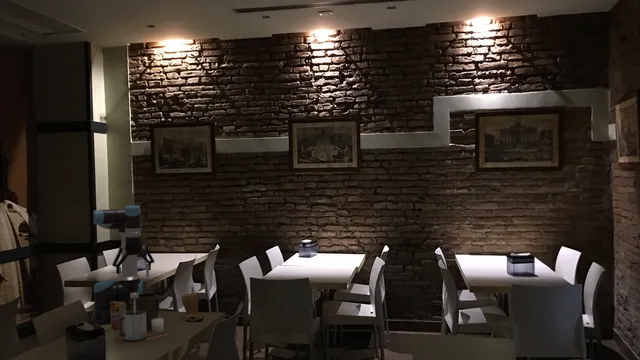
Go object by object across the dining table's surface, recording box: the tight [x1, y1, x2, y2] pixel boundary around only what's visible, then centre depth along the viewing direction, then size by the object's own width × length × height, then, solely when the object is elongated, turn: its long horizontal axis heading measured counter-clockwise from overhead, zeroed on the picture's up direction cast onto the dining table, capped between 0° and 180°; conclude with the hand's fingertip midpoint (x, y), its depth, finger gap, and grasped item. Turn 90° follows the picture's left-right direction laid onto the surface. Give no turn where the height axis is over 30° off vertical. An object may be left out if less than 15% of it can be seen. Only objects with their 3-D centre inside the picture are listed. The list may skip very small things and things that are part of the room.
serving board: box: [114, 330, 172, 346], centre depth 283 cm, size 16×24×2 cm, turn 122°
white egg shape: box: [151, 317, 165, 334], centre depth 290 cm, size 6×6×7 cm
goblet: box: [130, 292, 139, 315], centre depth 280 cm, size 8×8×20 cm
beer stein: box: [136, 293, 160, 332], centre depth 301 cm, size 15×11×20 cm
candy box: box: [110, 301, 128, 331], centre depth 302 cm, size 9×4×15 cm, turn 57°
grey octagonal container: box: [118, 309, 148, 343], centre depth 279 cm, size 11×13×13 cm
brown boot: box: [181, 292, 203, 322], centre depth 323 cm, size 15×12×15 cm
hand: (134, 278), depth 280 cm, fingers open, 13 cm apart
